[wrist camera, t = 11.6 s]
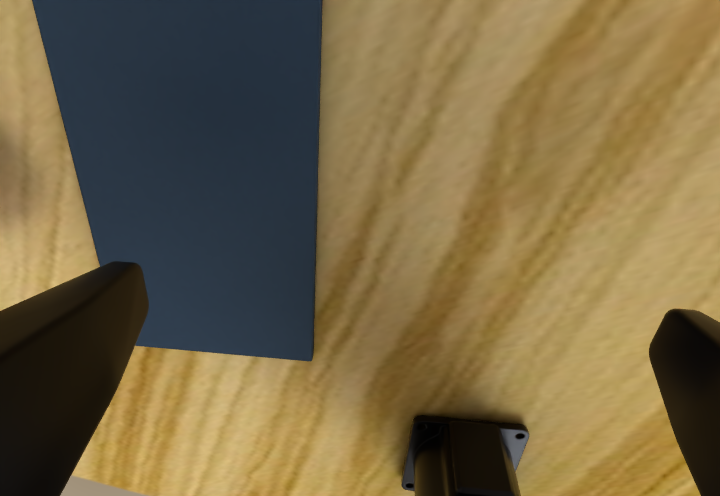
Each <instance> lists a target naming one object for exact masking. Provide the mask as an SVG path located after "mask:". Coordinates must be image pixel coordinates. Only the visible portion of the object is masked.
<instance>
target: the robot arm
mask: <svg viewBox="0 0 720 496" xmlns="http://www.w3.org/2000/svg"><path fill="white" fill-rule="evenodd" d="M148 309H149V300H148V295H147V290H146V285H145V280H144V276H143V271H142V268H141V267H140V265H139V264H137V263H134V262H123V261H113V262H110V263H108V264H106V265H103V266H101V267H99V268H97V269H94V270H92V271H90V272H88V273H85V274H83V275H81V276H79V277H76V278H74V279H72V280H69V281H67V282H65V283H63V284H60V285H58V286H56V287H54V288H51V289H49V290H47V291H45V292H42V293H40V294H38V295H36V296H33V297H31V298H29V299H27V300H24V301H22V302H20V303H18V304H15V305H13V306H11V307H9V308H6V309H4V310H2V311H0V496H60V495H61V493H62V491H63V489H64V487H65V486H66V484H67V482H68V480H69V478H70V476H71V474H72V473H73V471H74V469H75V467H76V465H77V463H78V461H79V460H80V458H81V456H82V454H83V452H84V450H85V449H86V447H87V445H88V443H89V441H90V439H91V437H92V436H93V434H94V432H95V430H96V428H97V426H98V424H99V423H100V421H101V419H102V417H103V415H104V413H105V411H106V410H107V408H108V406H109V404H110V402H111V400H112V398H113V396H114V394H115V392H116V390H117V388H118V386H119V383H120V381H121V379H122V376H123V374H124V371H125V369H126V366H127V364H128V362H129V359H130V357H131V354H132V352H133V349H134V347H135V344H136V342H137V339H138V337H139V334H140V332H141V329H142V327H143V324H144V322H145V319H146V317H147V314H148ZM649 357H650V361H651V364H652V367H653V371H654V374H655V377H656V380H657V383H658V386H659V389H660V392H661V395H662V398H663V401H664V404H665V407H666V410H667V413H668V416H669V419H670V423H671V426H672V428H673V431H674V434H675V437H676V439H677V442H678V444H679V447H680V449H681V452H682V454H683V456H684V459H685V461H686V463H687V465H688V467H689V470H690V472H691V474H692V476H693V479H694V481H695V483H696V485H697V488H698V490H699V492H700V494H701V496H720V322H718V321H716V320H714V319H712V318H711V317H709V316H707V315H705V314H703V313H702V312H699V311H696V310H686V309H672V310H669V311H668V312H667V313H666V314H665V316H664V318H663V320H662V322H661V324H660V326H659V328H658V330H657V332H656V334H655V336H654V338H653V340H652V342H651V344H650V348H649ZM528 438H529V433H528V429H527V427H526V426H524V425H521V424H511V423H500V422H489V421H478V420H467V419H456V418H445V417H434V416H423V415H422V416H416V417H415V418H414V419H413V421H412V426H411V432H410V437H409V442H408V447H407V453H406V458H405V463H404V468H403V474H402V487H403V489H405V490H411V491H415V496H521V494H520V490H519V486H518V482H517V478H516V473H515V471H516V469H517V466H518V464H519V461H520V459H521V456H522V454H523V451H524V448H525V446H526V443H527V441H528Z"/></svg>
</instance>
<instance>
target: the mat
mask: <svg viewBox="0 0 720 496" xmlns="http://www.w3.org/2000/svg"><path fill="white" fill-rule="evenodd" d="M32 2H33V6H34V10H35V13H36V17H37V21H38V25H39V29H40V33H41V37H42V41H43V45H44V49H45V53H46V57H47V60H48V64H49V68H50V72H51V76H52V80H53V84H54V88H55V92H56V96H57V100H58V104H59V107H60V111H61V115H62V119H63V123H64V127H65V131H66V135H67V139H68V143H69V147H70V151H71V154H72V158H73V162H74V166H75V170H76V174H77V178H78V182H79V186H80V190H81V194H82V198H83V202H84V205H85V209H86V213H87V217H88V221H89V225H90V229H91V233H92V237H93V241H94V245H95V249H96V252H97V256H98V260H99V264H100V267H101V266H103V265H106V264H108V263H110V262H113V261H123V262H134V263H137V264H139V265H140V267H141V268H142V271H143V276H144V280H145V285H146V290H147V295H148V300H149V309H148V314H147V317H146V319H145V322H144V324H143V327H142V329H141V332H140V334H139V337H138V339H137V342H136V344H135V346H145V347H156V348H167V349H178V350H190V351H201V352H212V353H223V354H234V355H245V356H256V357H267V358H279V359H290V360H301V361H312V358H313V349H314V310H315V271H316V232H317V193H318V154H319V116H320V77H321V38H322V0H32Z"/></svg>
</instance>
